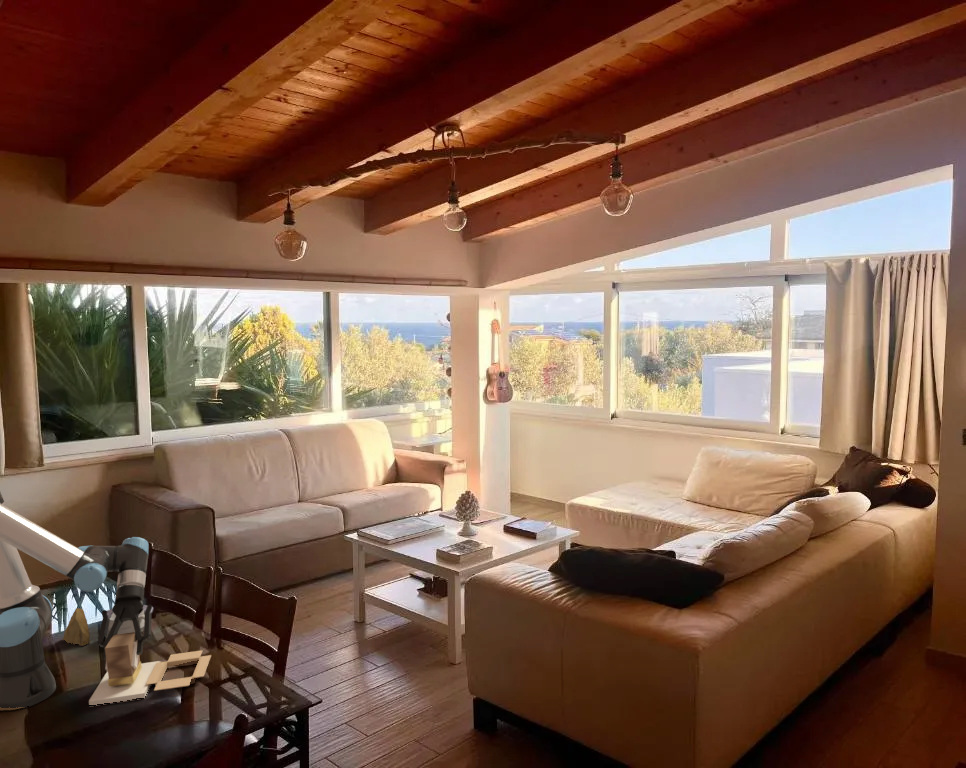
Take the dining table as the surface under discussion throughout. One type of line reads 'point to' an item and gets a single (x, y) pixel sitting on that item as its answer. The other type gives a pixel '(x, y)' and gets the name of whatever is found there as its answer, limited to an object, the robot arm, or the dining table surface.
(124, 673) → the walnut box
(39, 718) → the dining table surface
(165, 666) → the carton
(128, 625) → the teacup
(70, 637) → the rock
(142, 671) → the board
